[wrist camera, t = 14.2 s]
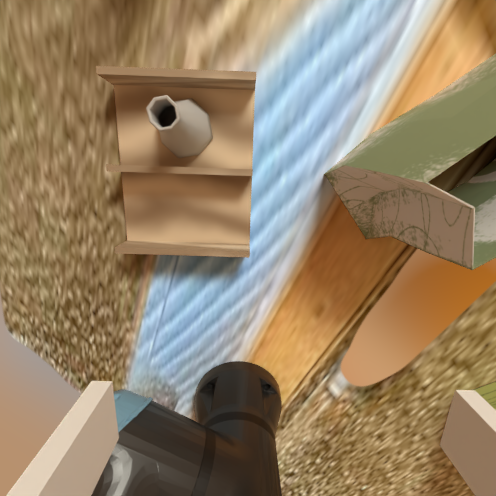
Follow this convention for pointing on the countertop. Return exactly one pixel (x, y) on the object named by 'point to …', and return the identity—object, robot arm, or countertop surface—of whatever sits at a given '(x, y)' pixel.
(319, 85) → the countertop surface
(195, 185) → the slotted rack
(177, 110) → the flask
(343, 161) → the grocery bag
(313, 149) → the countertop surface
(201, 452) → the robot arm
